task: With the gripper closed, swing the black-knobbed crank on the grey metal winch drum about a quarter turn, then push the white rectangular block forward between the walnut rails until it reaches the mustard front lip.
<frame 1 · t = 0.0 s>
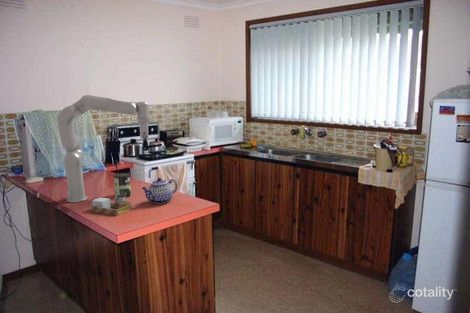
hand: (145, 147, 246), 31 cm above the countertop, tool pointing down, fingers open, 9 cm apart
crank: (123, 192, 226), point 7 cm above the countertop, hinge at 0.0°
winch: (120, 203, 229), on the countertop
bay: (111, 210, 217), on the countertop
coffee can: (123, 195, 247), on the countertop
teapot: (161, 201, 232), on the countertop
white rectangular block: (102, 209, 220), on the countertop
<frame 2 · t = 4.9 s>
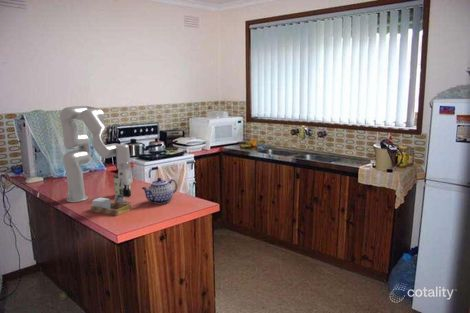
hand: (126, 195, 222), 7 cm above the countertop, tool pointing down, fingers closed
crank: (123, 192, 227), point 7 cm above the countertop, hinge at 4.1°, touching gripper
everything else where it was.
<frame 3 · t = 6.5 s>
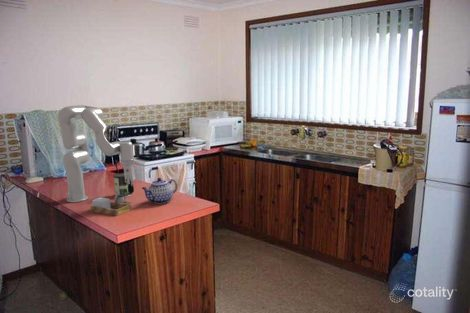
hand: (131, 191, 228), 7 cm above the countertop, tool pointing down, fingers closed
crank: (124, 191, 229), point 7 cm above the countertop, hinge at 54.3°, touching gripper
everything else where it was.
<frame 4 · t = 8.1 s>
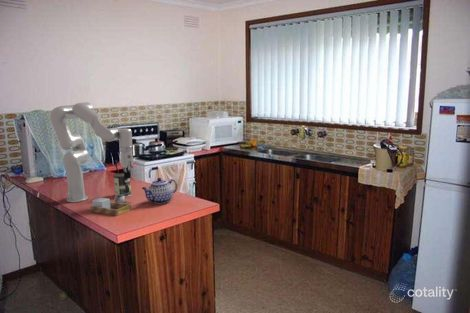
hand: (127, 178, 230), 15 cm above the countertop, tool pointing down, fingers closed
crank: (123, 190, 231), point 7 cm above the countertop, hinge at 88.4°
everything else where it was.
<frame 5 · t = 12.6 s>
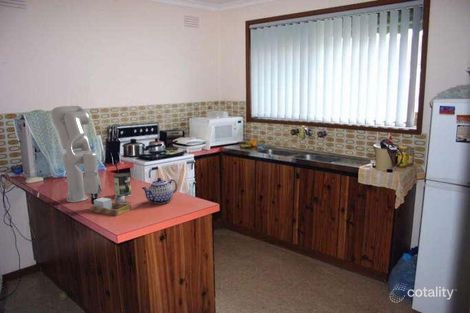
hand: (94, 203, 222), 3 cm above the countertop, tool pointing down, fingers closed
white rectangular block: (103, 209, 220), on the countertop, touching gripper
everything else where it was.
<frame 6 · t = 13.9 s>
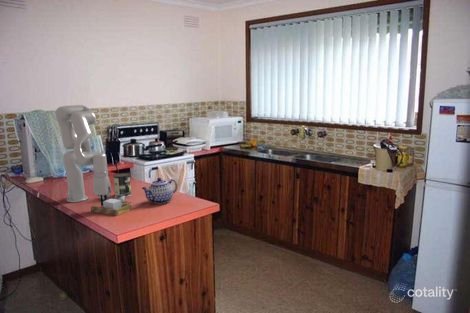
hand: (104, 205, 219), 3 cm above the countertop, tool pointing down, fingers closed
white rectangular block: (112, 210, 216), on the countertop, touching gripper
everything else where it was.
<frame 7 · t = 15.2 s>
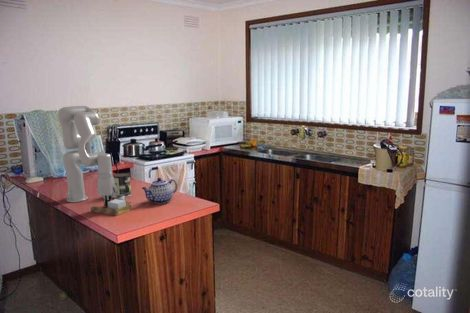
hand: (108, 205, 217), 3 cm above the countertop, tool pointing down, fingers closed
white rectangular block: (117, 211, 215), on the countertop, touching bay, gripper
everything else where it was.
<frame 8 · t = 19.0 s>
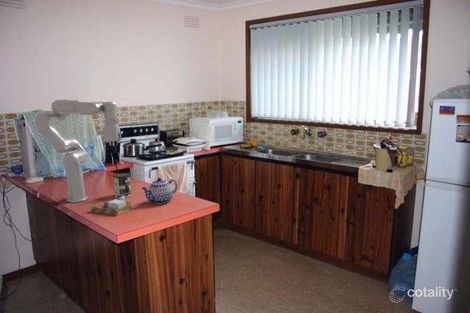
hand: (114, 151, 231), 31 cm above the countertop, tool pointing down, fingers closed
white rectangular block: (117, 211, 215), on the countertop
everything else where it was.
at the end: white rectangular block inside the target area (0.2 cm from its centre), on the countertop; white rectangular block tilted 0°; crank at +88° (first picture: +0°) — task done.
